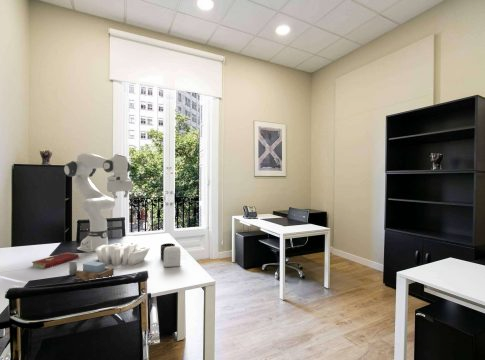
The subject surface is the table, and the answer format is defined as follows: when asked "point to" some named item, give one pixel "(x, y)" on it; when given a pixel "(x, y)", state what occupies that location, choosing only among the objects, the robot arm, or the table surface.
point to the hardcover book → (55, 260)
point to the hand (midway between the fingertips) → (120, 197)
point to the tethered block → (87, 267)
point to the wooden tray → (94, 274)
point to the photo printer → (172, 256)
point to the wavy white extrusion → (121, 254)
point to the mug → (164, 248)
